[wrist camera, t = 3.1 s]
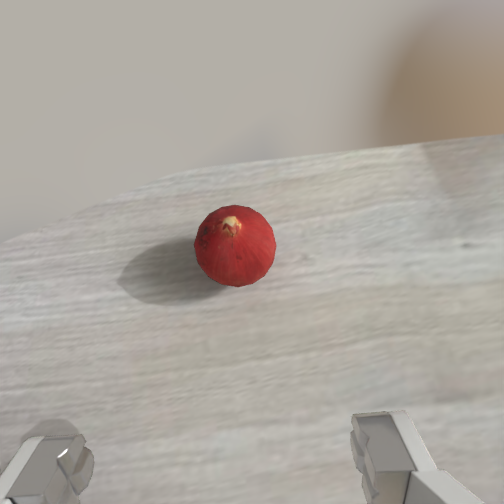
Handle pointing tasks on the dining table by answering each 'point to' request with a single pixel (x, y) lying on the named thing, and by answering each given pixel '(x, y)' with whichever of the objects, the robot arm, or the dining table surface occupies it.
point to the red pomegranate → (235, 246)
